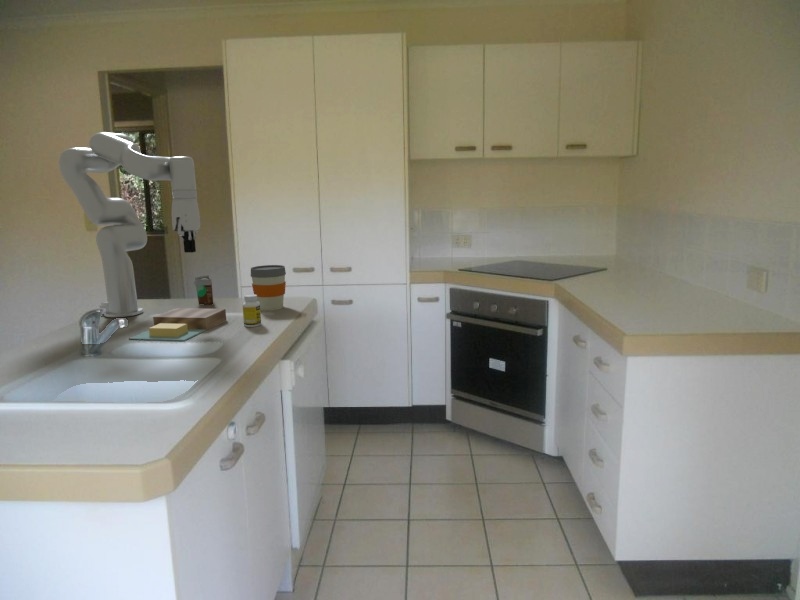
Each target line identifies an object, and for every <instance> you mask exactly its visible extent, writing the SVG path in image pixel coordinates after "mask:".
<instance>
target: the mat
mask: <svg viewBox="0 0 800 600" xmlns="http://www.w3.org/2000/svg"><path fill="white" fill-rule="evenodd" d="M206 331H207V330H205V329H188V332H186V333H184V334H182V335H180V336H178V337H163V336H150V335H149V329H148V330H146V331H143V332H141V333H138V334H136V335H134V336H133V335H132V336H131V337H129V338H128V340H129V339H143V340H142V341H166V342H186V341H188V340H190V339H192V338H194V337H196V336H198V335H200V334H202V333H204V332H206ZM187 339H188V340H187ZM185 340H186V341H185Z"/></svg>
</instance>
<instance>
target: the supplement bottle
mask: <svg viewBox="0 0 800 600" xmlns="http://www.w3.org/2000/svg"><path fill="white" fill-rule="evenodd" d="M243 297H244V302H243V303H242V315H243V326H244V327H246V328H254V327H255V328H256V327H259V326H261V325H262V315H261V313H262V312H261V310H260V303H259V302H258V301H257V295H255V294H254V293H253V294H245V295H243Z"/></svg>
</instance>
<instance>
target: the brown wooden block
mask: <svg viewBox="0 0 800 600" xmlns="http://www.w3.org/2000/svg"><path fill="white" fill-rule="evenodd" d="M152 319H153V326H155V325H157V324H160V323H171V324H187V328H188V329H205V330H206V331H209V330H210V329H212V328H214V327H217V326H218V325H220V324H222V323H224V322H226V321H227V313H226V308H198V307H197V308H196V307H194V308H192V307H191V308H190V307H189V308H188V307H186V308H183V307H181V308H180V307H176V308H172V309H170V310H166V311H165V312H161V313H160V314H157V315H154V316H153V317H152Z"/></svg>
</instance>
